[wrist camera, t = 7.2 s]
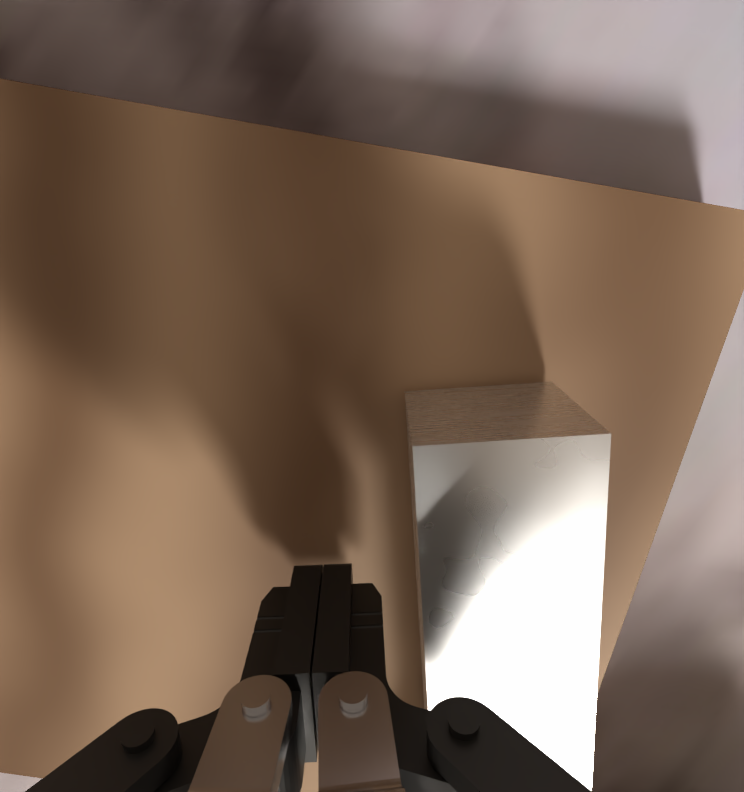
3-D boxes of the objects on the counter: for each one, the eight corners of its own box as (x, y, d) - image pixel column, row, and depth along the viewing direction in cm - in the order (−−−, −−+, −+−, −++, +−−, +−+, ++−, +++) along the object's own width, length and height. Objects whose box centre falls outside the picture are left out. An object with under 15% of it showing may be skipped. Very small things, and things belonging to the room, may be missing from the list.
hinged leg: (550, 834, 17) (590, 980, 14) (424, 839, 17) (434, 984, 14) (561, 380, 13) (625, 432, 9) (394, 392, 13) (398, 447, 10)
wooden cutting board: (-18, 697, 20) (-73, 762, 17) (-54, 84, 14) (-145, 52, 11) (523, 774, 20) (542, 847, 18) (705, 217, 14) (770, 214, 12)
